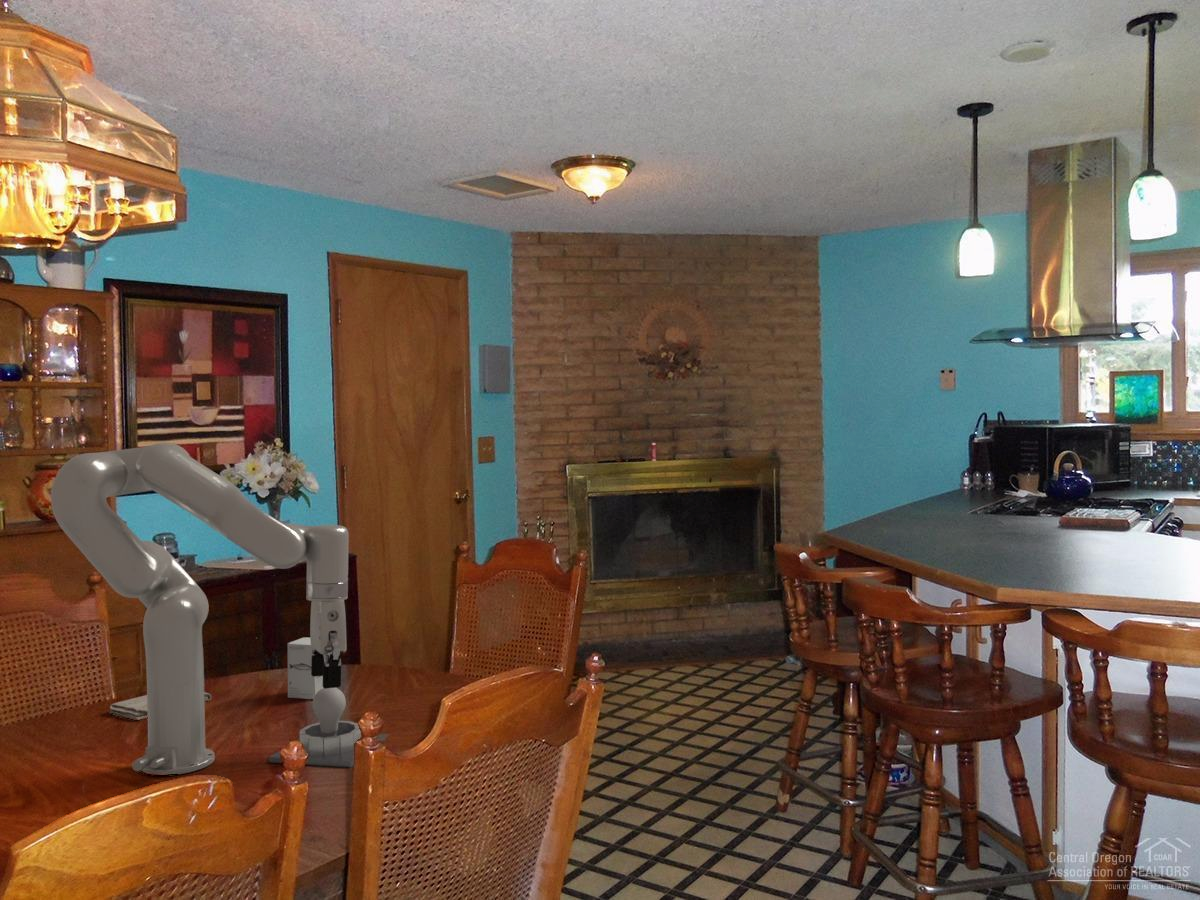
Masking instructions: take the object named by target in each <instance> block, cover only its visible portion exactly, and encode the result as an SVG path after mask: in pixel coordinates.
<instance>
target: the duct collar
mask: <svg viewBox="0 0 1200 900" xmlns="http://www.w3.org/2000/svg"><path fill="white" fill-rule="evenodd" d="M358 724H359V723H357V722H354V721H350V720H339V723H338V730H337V735H336V736H332V737H322V732H321V727H320V722H319V721H318V722H315V723H312V724H309V725H306V726H305V727H303V728H301V729H300V730H299V738H297V739H296V740H295V741H300V742H301V743H302V744H303V746H304V748H305V750H306V751H307V753H308V762H307V765H306V766H320V767H321V766H322V767H334V768H335V767H336V768H337V767H338V768H349V769H351V768H352V767H353V766H354V765H353V764H354V743H355V742H356V741H357V740H358V739H360V738H361V737H362V735H361V733H362V730H361V731H360V729H359V726H358ZM378 734H379V735H378V736H377V737H379V738H377V737H376V738H377V739H378V740H380V741H382V740H384V741H385V738H386V737H388V736H389V735H388V733H387V734H384V733H378ZM388 738H389V737H388ZM385 742H386V741H385ZM268 760H269V763H271V764H272V763H273V764H275V763H276V764H283V763H282V761H281V758H280V750H278V751H277V752H275V753H273V754H271V755H270V756H269V758H268Z"/></svg>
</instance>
